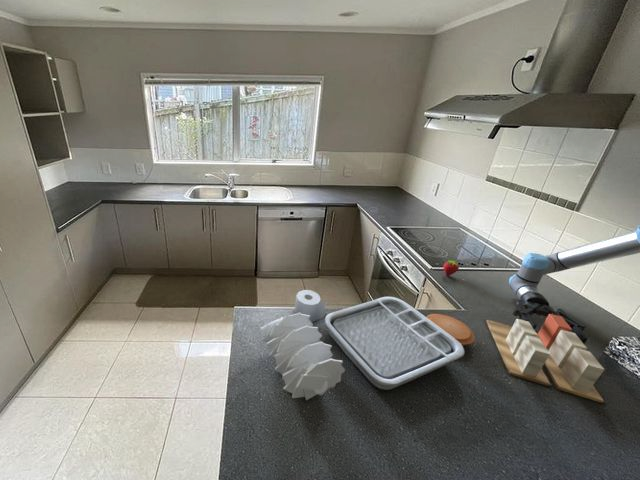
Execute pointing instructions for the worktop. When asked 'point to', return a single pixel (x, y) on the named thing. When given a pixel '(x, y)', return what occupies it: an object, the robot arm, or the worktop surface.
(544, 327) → the red rectangular block
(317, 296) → the toilet tissue
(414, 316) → the dish rack
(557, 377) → the cubes on wooden plank
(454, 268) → the strawberry
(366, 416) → the worktop surface
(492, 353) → the worktop surface
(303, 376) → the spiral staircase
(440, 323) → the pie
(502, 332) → the wooden base with cubes
